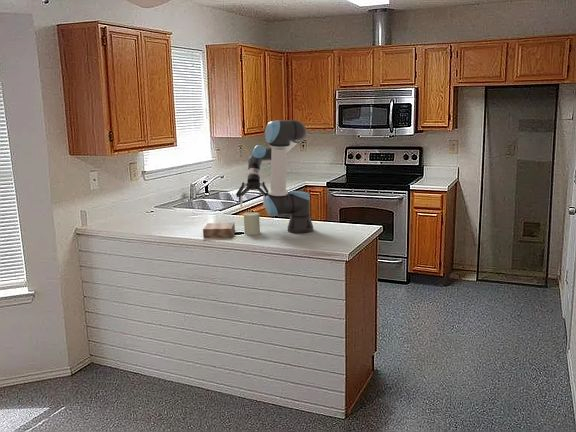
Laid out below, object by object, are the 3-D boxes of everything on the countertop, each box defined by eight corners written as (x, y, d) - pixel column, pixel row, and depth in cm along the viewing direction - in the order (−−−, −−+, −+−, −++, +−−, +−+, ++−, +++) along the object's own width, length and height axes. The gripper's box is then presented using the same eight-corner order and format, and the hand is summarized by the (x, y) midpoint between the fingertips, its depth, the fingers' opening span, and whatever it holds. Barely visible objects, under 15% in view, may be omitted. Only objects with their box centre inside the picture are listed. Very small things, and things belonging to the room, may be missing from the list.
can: (251, 230, 333) (251, 210, 330) (263, 232, 327) (262, 212, 325) (241, 233, 326) (240, 213, 323) (252, 235, 320) (251, 215, 318)
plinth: (234, 230, 334) (234, 222, 333) (231, 237, 318) (231, 228, 317) (208, 231, 334) (207, 223, 333) (203, 237, 318) (202, 229, 317)
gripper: (274, 180, 348) (273, 208, 336) (234, 181, 349) (232, 209, 337) (273, 172, 342) (273, 201, 330) (232, 173, 343) (230, 202, 331)
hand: (252, 205), depth 334 cm, fingers open, 13 cm apart
